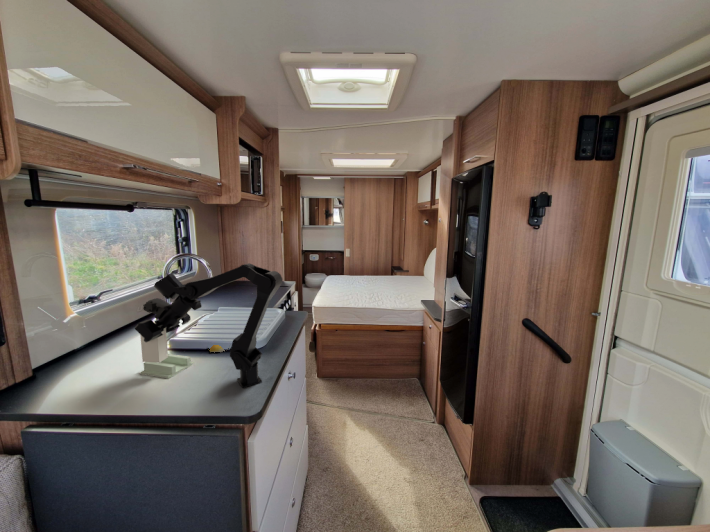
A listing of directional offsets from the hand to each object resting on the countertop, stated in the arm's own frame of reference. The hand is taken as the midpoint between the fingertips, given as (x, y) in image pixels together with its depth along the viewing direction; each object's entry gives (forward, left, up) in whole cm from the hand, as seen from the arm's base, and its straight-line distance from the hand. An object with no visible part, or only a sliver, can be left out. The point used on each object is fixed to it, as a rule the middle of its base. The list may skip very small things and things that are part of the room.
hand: (150, 338), depth 95 cm
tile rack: (+3, -5, -13) cm, 15 cm away
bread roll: (+11, -24, -14) cm, 29 cm away
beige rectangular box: (-1, -1, -7) cm, 8 cm away
